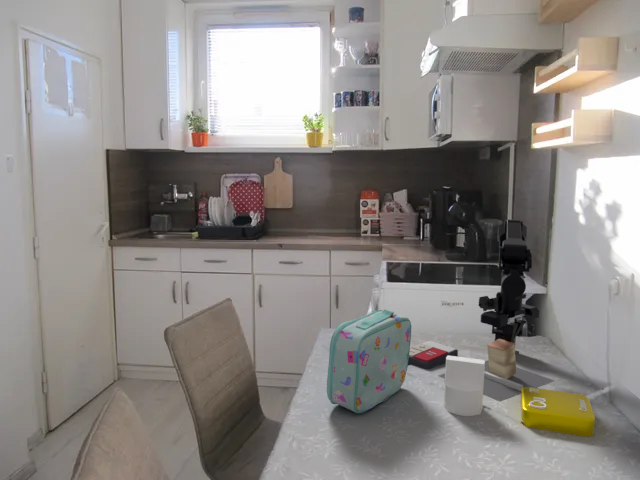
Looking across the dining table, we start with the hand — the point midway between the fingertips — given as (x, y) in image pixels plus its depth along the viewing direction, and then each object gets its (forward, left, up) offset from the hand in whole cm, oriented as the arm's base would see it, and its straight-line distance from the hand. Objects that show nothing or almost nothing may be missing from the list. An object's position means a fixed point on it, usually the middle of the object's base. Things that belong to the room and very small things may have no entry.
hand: (508, 345), depth 153 cm
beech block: (+2, 0, -8) cm, 8 cm away
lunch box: (+40, -11, -9) cm, 43 cm away
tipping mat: (+4, 0, -9) cm, 10 cm away
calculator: (+8, -21, -10) cm, 25 cm away
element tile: (+12, +22, -10) cm, 27 cm away
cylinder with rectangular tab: (+25, +6, -9) cm, 28 cm away
